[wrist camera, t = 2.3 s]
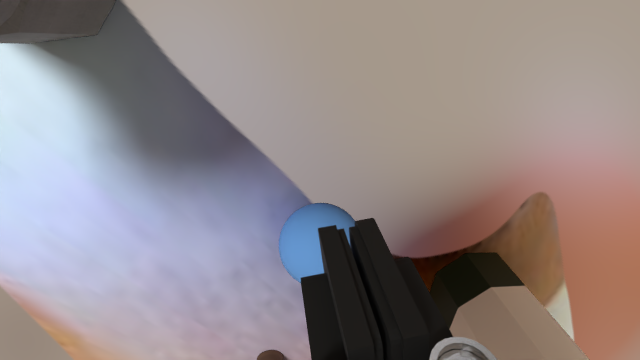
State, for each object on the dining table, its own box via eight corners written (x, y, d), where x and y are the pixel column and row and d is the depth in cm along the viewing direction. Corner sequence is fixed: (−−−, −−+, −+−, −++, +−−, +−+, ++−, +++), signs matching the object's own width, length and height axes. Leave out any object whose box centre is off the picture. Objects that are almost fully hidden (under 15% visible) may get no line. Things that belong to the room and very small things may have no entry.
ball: (270, 195, 26) (273, 248, 21) (349, 181, 27) (370, 229, 22) (283, 255, 29) (289, 314, 24) (354, 242, 30) (374, 297, 25)
